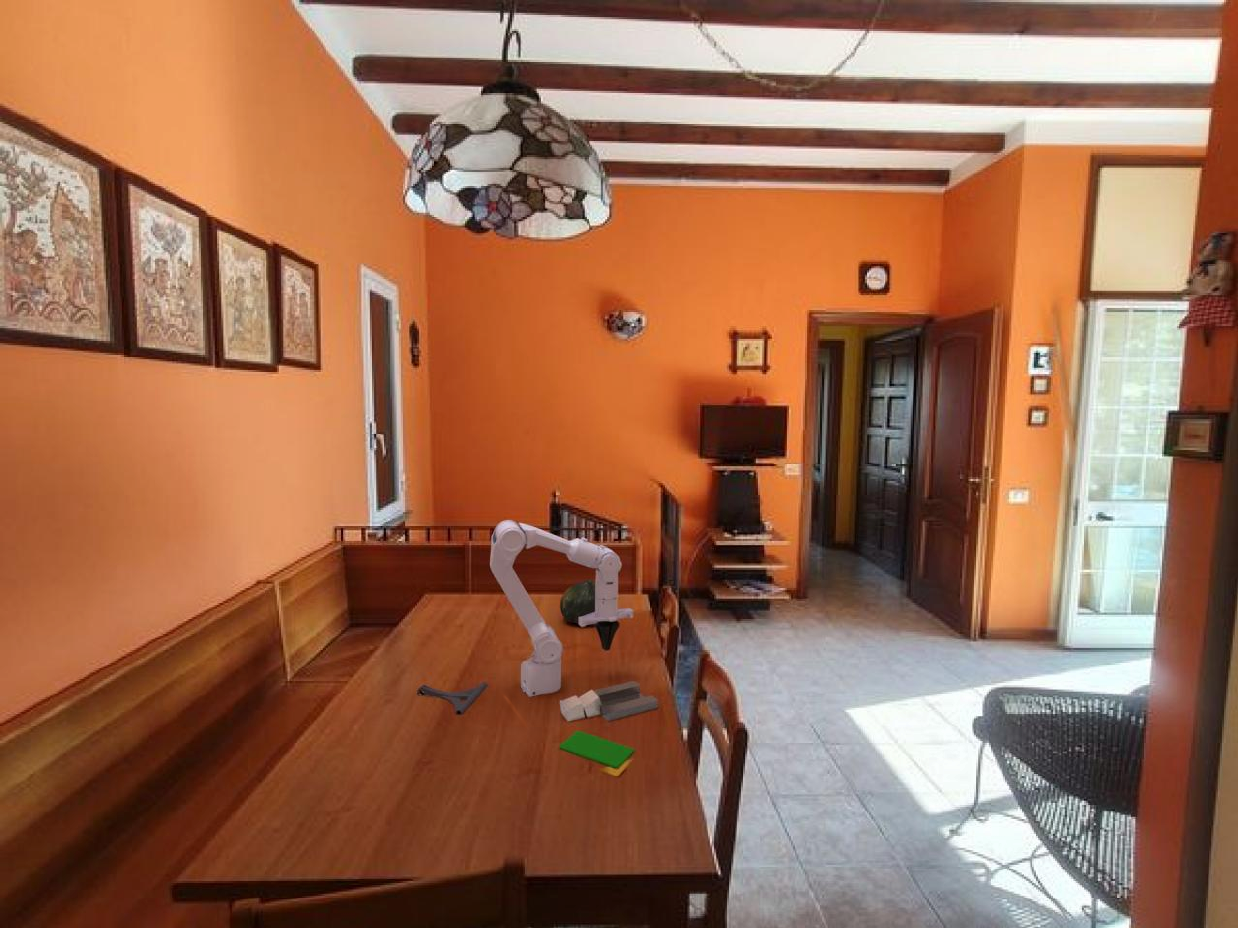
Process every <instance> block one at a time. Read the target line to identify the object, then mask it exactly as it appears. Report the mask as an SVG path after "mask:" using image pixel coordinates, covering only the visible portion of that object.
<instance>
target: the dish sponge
mask: <svg viewBox="0 0 1238 928" xmlns="http://www.w3.org/2000/svg"><path fill="white" fill-rule="evenodd" d="M558 748H559V750H562V751H564V752H568V753H571V754H574V755H575V756H579V757H582V758H585V759H588V760H591V761H593V762H596V763H599V764H602V765H605V767H602V768H601V767H600V768H598V769H597V771H600V772H603V773H605V774H609V775H611V776H614V777H619V776H620V775H621V774H622V773H623V771H624V770H625V769H626V768H627V767H628V766H630V764H631V763H632V762H633V761H634V760H635V758H633V757H632V758H631V759H629V758H630V757H631V756H632V755H633V754H634V752H635V749H634V748H632V747H629V746H626V745H624V744H619V743H617V742H614V741H611V740H608V739H605V738H601V737H599V736H596V735H592V734H590V733H587V732H585V731H582V730H581V731H580V730H576V731H575V732H574V733H573V734H571V735H570V736H569V737H568V738H567V739H566V740H564V741H563V742H562V743H561V744H559V746H558Z"/></svg>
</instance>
